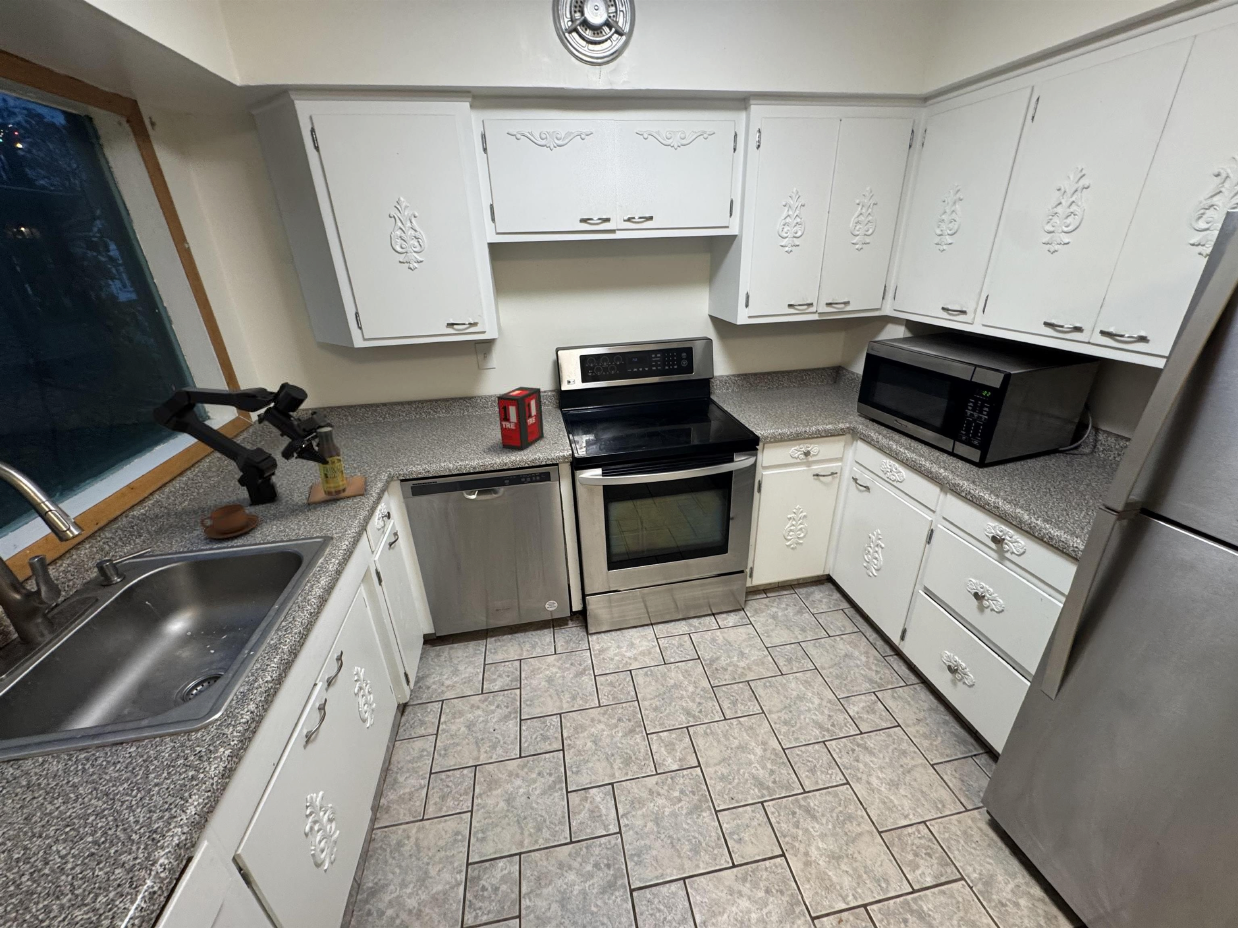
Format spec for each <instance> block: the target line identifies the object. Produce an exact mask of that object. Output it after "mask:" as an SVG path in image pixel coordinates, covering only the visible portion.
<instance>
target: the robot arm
mask: <svg viewBox="0 0 1238 928" xmlns="http://www.w3.org/2000/svg"><path fill="white" fill-rule="evenodd" d="M308 398H309V396H308V392H307V391H306V390H305V389H304V388H303V387H300V386H298V385H295V384H290V382H288V381H284V382H282V383H281V384H280V385H279V386H278V389H277V391H271V390H268V389H267V388H265V387H261V386H260V387H259V386H258V387H250V388H249V387H248V388H243V389H236V390H234V389H222V388H210V387H209V388H207V387H206V388H205V387H196V386H186V387H183V388H180V389H177V390H176V391H175V392H174V394H173V395H172V396H171V397H169V398H168V399H167V400H165V401H164V402H163V403H161V405H160V406H158V407H155V408H154V409H153V411H152V413H151V414H152V418H153V422H154V423H156V425H158V426H159V427H162V428H165V429H167V430H168V431H171V432H176V433H177V432H178V433H181V434H186V435H188V436H190V437H192V438H193V439H195V440H196V441H198V442H200V443H201V444H203V445H205V446H207V447H208V448H210V449H211V450H213V451H215V452H217V453H219V454H221V455H222V456H223V457H225V458H227V459H229V460H231V461H232V462H234V463H235V466H236V468H237V469H238V471H239V472H240V473H241V475H240V476H239V478H238V479H237V483H238V485H239V486H240V487H242V488H245V489H246V493H247V495H248V499H249V503H248V505H249V506H256V505H261V504H267V503H273V502H276V500H277V498H278V497H279V494H280V493H279V489H278V486H277V483H276V481H274V480H273V477H274V476H276V471H277V469H278V462H277V459H276V458H275V457H274V456H272V455H273V453H270V452H268V451H266V450H265V449H263V448H262V447H260V446H257V447H256V448H253V449H250V448H247V447H246V446H244V445H242V444H240V443H239V442H238V441H235V440H234V439H232V438H230V437H229V436H227V435H226V434H224V433H222V432H220V431H219V430H218V429H216V428H214V427H212V426H211V425H209V424H207V423H206V422H204V421H202V420H201V419H200V417H199V415H198V413H197V412H196V411H195V409H196V407H197V405H198V404H200V405H210V406H211V405H213V406H225V407H226V406H227V407H233V408H235V409H236V410H238V411H242V412H247V413H251V414H253V413H257V412H259V411H261V410H264V409H265V410H264V411H263V412H260V413H258V414H257V415H256V417H257V424H258V425H262V424H265V423H268V424H269V425H271V426H272V427H274V429H276V431H277V430H278V432H280V434H279V436H280V437H281V438H284V437H287V438H288V439H289V440H290V441H289V442H287V444H285V446H284V448H283V449H282V450H281V451H280V455H281V457H282V458H283V459H284V460H285V461H287V462H288V461H290V460H292V459H293V458H294V459H295V460H298V459H299V460H304V461H309V462H313V463H317V464H318V463H321V464H325V465H327V464H328V463H329V461H328V460H327V459H326V458H325V457H323V456H322V455H321V454H320V453H319V452H318V451H317V450H318V449H316V448H318V447H319V439H318V435H317V434H316V430H317V429H319V428H325V427H329V428H332V430H333V429H334V427H335V425H333V424H332V423H331V422H329V421H327V419H326V418H327V416H326V415H327V414H326V413H325V412H324V411H322V410H320V409H319V408H317V409H315V410H313V411H312V412H310V415H311V416H309V417H307V418H304V416H298V417H297V416H295V415H294V414H293V413H297V412H298V410H299V409H300V408H301V407H302V405H303V404H305V402H306V400H307V399H308ZM272 404H273V405H272ZM313 442H314V443H316V444H315V445H314V443H313Z"/></svg>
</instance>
